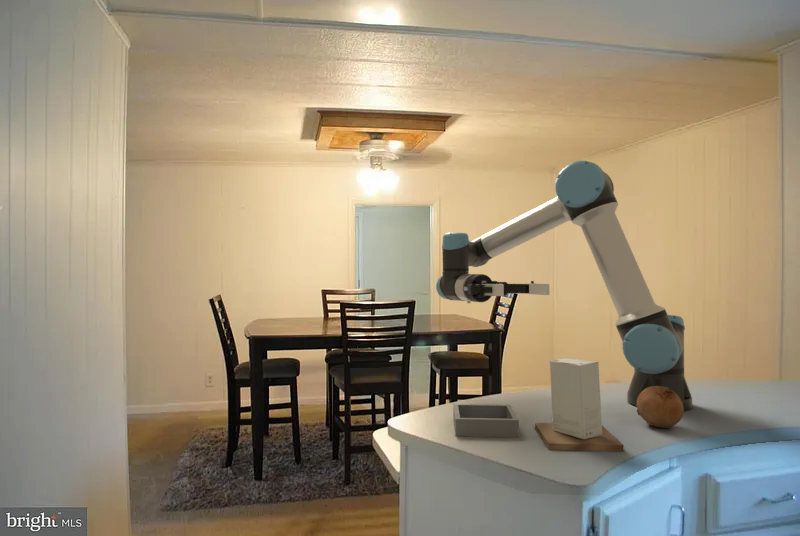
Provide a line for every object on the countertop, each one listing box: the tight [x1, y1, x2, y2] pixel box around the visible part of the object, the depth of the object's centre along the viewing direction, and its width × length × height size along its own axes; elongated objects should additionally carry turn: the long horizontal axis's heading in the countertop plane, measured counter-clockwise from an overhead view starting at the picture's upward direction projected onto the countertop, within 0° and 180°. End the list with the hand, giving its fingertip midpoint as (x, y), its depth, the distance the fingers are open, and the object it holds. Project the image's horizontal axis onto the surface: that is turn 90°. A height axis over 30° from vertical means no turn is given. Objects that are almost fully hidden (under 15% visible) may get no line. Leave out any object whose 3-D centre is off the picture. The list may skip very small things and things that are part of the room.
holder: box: [452, 403, 520, 438], centre depth 116 cm, size 13×13×4 cm
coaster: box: [534, 422, 625, 452], centre depth 108 cm, size 14×14×1 cm
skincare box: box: [549, 357, 603, 439], centre depth 108 cm, size 8×6×15 cm
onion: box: [636, 386, 685, 429], centre depth 118 cm, size 10×9×10 cm
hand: (525, 289), depth 125 cm, fingers open, 13 cm apart
